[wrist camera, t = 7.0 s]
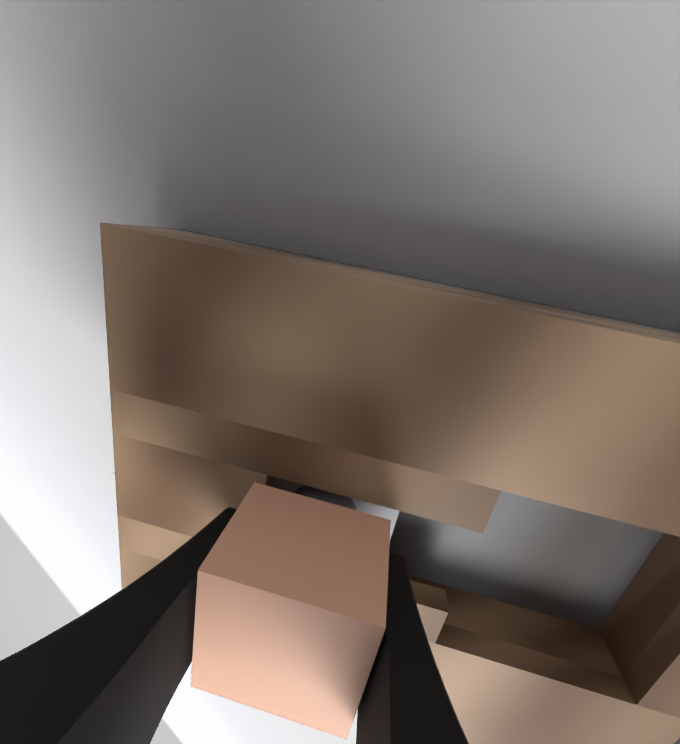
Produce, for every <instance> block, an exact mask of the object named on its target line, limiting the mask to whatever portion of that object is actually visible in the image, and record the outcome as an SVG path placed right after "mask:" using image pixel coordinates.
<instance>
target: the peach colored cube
mask: <svg viewBox="0 0 680 744" xmlns="http://www.w3.org/2000/svg"><path fill="white" fill-rule="evenodd" d="M398 514H399V511H398V510H394V509H390V508H387V507H383V506H379V505H376V504H372V503H368V502H365V501H361V500H357V499H354V498H350V497H346V496H343V495H339V494H335V493H331V492H328V491H324V490H320V489H317V488H313V487H309V486H306V485H302V484H298V483H295V482H291V481H287V480H284V479H280V478H276V477H273V484H272V487H270V486H267V485H263V484H259V483H256V482H254V484H253V485H252V487H251V488H250V490H249V491H248V493H247V495H246V496H245V498H244V499H243V501H242V502H241V504H240V505H239V507H238V509H237V510H236V512H235V513H234V515H233V516H232V518H231V519H230V521H229V523H228V524H227V526H226V527H225V529H224V530H223V532H222V533H221V535H220V537H219V538H218V540H217V541H216V543H215V544H214V546H213V547H212V549H211V551H210V552H209V554H208V555H207V557H206V558H205V560H204V561H203V563H202V565H201V566H200V568H199V569H198V575H197V591H196V607H195V623H194V640H193V656H192V672H191V687H194V688H197V689H200V690H203V691H206V692H209V693H212V694H215V695H218V696H221V697H224V698H227V699H229V700H232V701H235V702H238V703H241V704H244V705H247V706H250V707H253V708H256V709H259V710H262V711H265V712H268V713H271V714H273V715H276V716H279V717H282V718H285V719H288V720H291V721H294V722H297V723H300V724H303V725H306V726H309V727H312V728H315V729H317V730H320V731H323V732H326V733H329V734H332V735H335V736H338V737H341V738H344V739H347V737H348V734H349V732H350V729H351V726H352V723H353V720H354V717H355V714H356V712H357V709H358V706H359V703H360V700H361V697H362V694H363V691H364V689H365V686H366V683H367V680H368V677H369V674H370V671H371V669H372V666H373V663H374V660H375V657H376V654H377V651H378V648H379V646H380V643H381V640H382V637H383V634H384V631H385V628H386V610H387V589H388V568H389V546H390V539H391V536H392V533H393V530H394V527H395V523H396V520H397V517H398Z"/></svg>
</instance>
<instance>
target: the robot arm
mask: <svg viewBox="0 0 680 744" xmlns="http://www.w3.org/2000/svg"><path fill="white" fill-rule="evenodd" d="M236 510H237V509H234V508H231V507H228V508H226V509H225V510H224V511H222V512H221V513H220V514H219V515H218V516H217V517H216V518H214V519H213V520H212V521H211V522H210V523H209V524H207V525H206V526H205V527H204V528H203V529H202V530H200V531H199V532H198V533H197V534H195V535H194V536H193V537H192V538H191V539H189V540H188V541H187V542H186V543H184V544H183V545H182V546H181V547H179V548H178V549H177V550H175V551H174V552H173V553H172V554H170V555H169V556H168V557H167V558H165V559H164V560H163V561H161V562H160V563H159V564H157V565H156V566H155V567H153V568H152V569H150V570H149V571H148V572H146V573H145V574H143V575H142V576H141V577H139V578H138V579H136V580H135V581H134V582H132V583H131V584H129V585H128V586H127V587H125V588H124V589H122V590H121V591H119V592H118V593H116V594H115V595H113V596H112V597H110V598H109V599H107V600H105V601H104V602H102V603H101V604H99V605H98V606H96V607H94V608H93V609H91V610H90V611H88V612H86V613H85V614H83V615H82V616H80V617H78V618H77V619H75V620H73V621H71V622H70V623H68V624H66V625H65V626H63V627H61V628H60V629H58V630H56V631H54V632H53V633H51V634H49V635H48V636H46V637H44V638H42V639H40V640H39V641H37V642H36V643H33V644H31V645H30V646H28V647H26V648H24V649H22V650H21V651H19V652H17V653H15V654H13V655H11V656H9V657H7V658H5V659H3V660H1V661H0V744H150V742H151V740H152V737H153V735H154V733H155V731H156V729H157V727H158V725H159V723H160V721H161V718H162V716H163V714H164V712H165V710H166V708H167V706H168V704H169V702H170V700H171V698H172V696H173V694H174V692H175V690H176V689H177V687H178V685H179V683H180V681H181V679H182V678H183V676H184V674H185V672H186V671H187V669H188V667H189V665H190V663H191V662H192V656H193V640H194V623H195V607H196V591H197V575H198V569H199V568H200V566H201V565H202V563H203V561H204V560H205V558H206V557H207V555H208V554H209V552H210V551H211V549H212V547H213V546H214V544H215V543H216V541H217V540H218V538H219V537H220V535H221V533H222V532H223V530H224V529H225V527H226V526H227V524H228V523H229V521H230V519H231V518H232V516H233V515H234V513H235V512H236ZM356 744H469V743H468V741H467V738H466V736H465V734H464V731H463V729H462V727H461V725H460V722H459V720H458V718H457V715H456V713H455V711H454V708H453V706H452V703H451V701H450V698H449V696H448V693H447V691H446V688H445V686H444V683H443V681H442V678H441V675H440V673H439V670H438V667H437V665H436V662H435V659H434V656H433V654H432V651H431V648H430V645H429V642H428V639H427V636H426V633H425V630H424V627H423V624H422V621H421V617H420V614H419V611H418V608H417V604H416V600H415V597H414V593H413V590H412V586H411V582H410V578H409V573H408V569H407V564H406V560H405V559H404V557H403V556H400V555H396V554H393V553H389V568H388V589H387V610H386V628H385V631H384V634H383V637H382V640H381V643H380V646H379V648H378V651H377V654H376V657H375V660H374V663H373V666H372V669H371V671H370V674H369V677H368V680H367V683H366V686H365V689H364V691H363V694H362V697H361V700H360V703H359V706H358V717H357V737H356Z"/></svg>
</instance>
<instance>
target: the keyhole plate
mask: <svg viewBox="0 0 680 744" xmlns="http://www.w3.org/2000/svg"><path fill="white" fill-rule="evenodd" d="M100 228H101V244H102V261H103V278H104V295H105V312H106V328H107V345H108V362H109V379H110V396H111V412H112V429H113V446H114V463H115V480H116V497H117V513H118V530H119V547H120V564H121V581H122V589H124V588H125V587H127V586H128V585H129V584H131V583H132V582H134V581H135V580H136V579H138V578H139V577H141V576H142V575H143V574H145V573H146V572H148V571H149V570H150V569H152V568H153V567H155V566H156V565H157V564H159V563H160V562H161V561H163V560H164V559H165V558H167V557H168V556H169V555H170V554H172V553H173V552H174V551H175V550H177V549H178V548H179V547H181V546H182V545H183V544H184V543H186V542H187V541H188V540H189V539H191V538H192V537H193V536H194V535H195V534H197V533H198V532H199V531H200V530H202V529H203V528H204V527H205V526H206V525H207V524H209V523H210V522H211V521H212V520H213V519H214V518H216V517H217V516H218V515H219V514H220V513H221V512H222V511H224V510H225V509H226V508H228V507H231V508H234V509H238V507H239V505H240V504H241V502H242V501H243V499H244V498H245V496H246V495H247V493H248V491H249V490H250V488H251V487H252V485H253V484H254V482H256V483H259V484H263V485H267V486H270V487H272V484H273V477H276V478H280V479H284V480H287V481H291V482H295V483H298V484H302V485H306V486H309V487H313V488H317V489H320V490H324V491H328V492H331V493H335V494H339V495H343V496H346V497H350V498H354V499H357V500H361V501H365V502H368V503H372V504H376V505H379V506H383V507H387V508H390V509H394V510H398V511H399V514H398V517H397V520H396V523H395V527H394V530H393V533H392V536H391V539H390V546H389V553H393V554H396V555H400V556H403V557H404V559H405V560H406V564H407V569H408V573H409V578H410V582H411V586H412V590H413V593H414V597H415V600H416V604H417V608H418V611H419V614H420V617H421V621H422V624H423V627H424V630H425V633H426V636H427V639H428V642H429V645H430V648H431V651H432V654H433V656H434V659H435V662H436V665H437V667H438V670H439V673H440V675H441V678H442V681H443V683H444V686H445V688H446V691H447V693H448V696H449V698H450V701H451V703H452V706H453V708H454V711H455V713H456V715H457V718H458V720H459V722H460V725H461V727H462V729H463V731H464V734H465V736H466V738H467V741H468V743H469V744H675V743H676V742H677V741H678V740H679V739H680V332H675V331H670V330H665V329H660V328H655V327H650V326H646V325H641V324H636V323H631V322H626V321H621V320H616V319H612V318H607V317H602V316H597V315H592V314H587V313H582V312H578V311H573V310H568V309H563V308H558V307H553V306H548V305H544V304H539V303H534V302H529V301H524V300H519V299H514V298H510V297H505V296H500V295H495V294H490V293H485V292H480V291H475V290H471V289H466V288H461V287H456V286H451V285H446V284H441V283H437V282H432V281H427V280H422V279H417V278H412V277H407V276H403V275H398V274H393V273H388V272H383V271H378V270H373V269H369V268H364V267H359V266H354V265H349V264H344V263H339V262H334V261H330V260H325V259H320V258H315V257H310V256H305V255H300V254H296V253H291V252H286V251H281V250H276V249H271V248H266V247H262V246H257V245H252V244H247V243H242V242H237V241H232V240H228V239H223V238H218V237H213V236H208V235H203V234H198V233H194V232H189V231H184V230H179V229H171V228H159V227H146V226H133V225H121V224H108V223H100Z"/></svg>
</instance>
